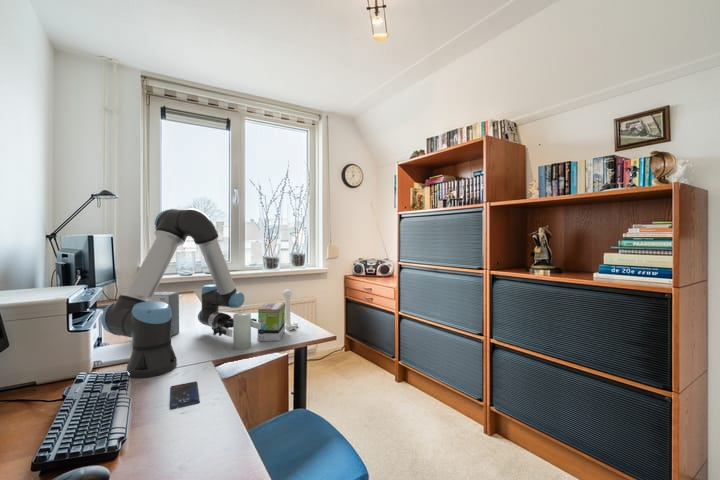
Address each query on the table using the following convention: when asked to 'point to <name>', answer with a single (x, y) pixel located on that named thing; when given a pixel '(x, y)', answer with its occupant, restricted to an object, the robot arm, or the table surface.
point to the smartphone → (184, 395)
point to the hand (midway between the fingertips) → (246, 329)
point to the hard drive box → (173, 302)
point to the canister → (241, 331)
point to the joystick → (288, 311)
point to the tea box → (271, 321)
